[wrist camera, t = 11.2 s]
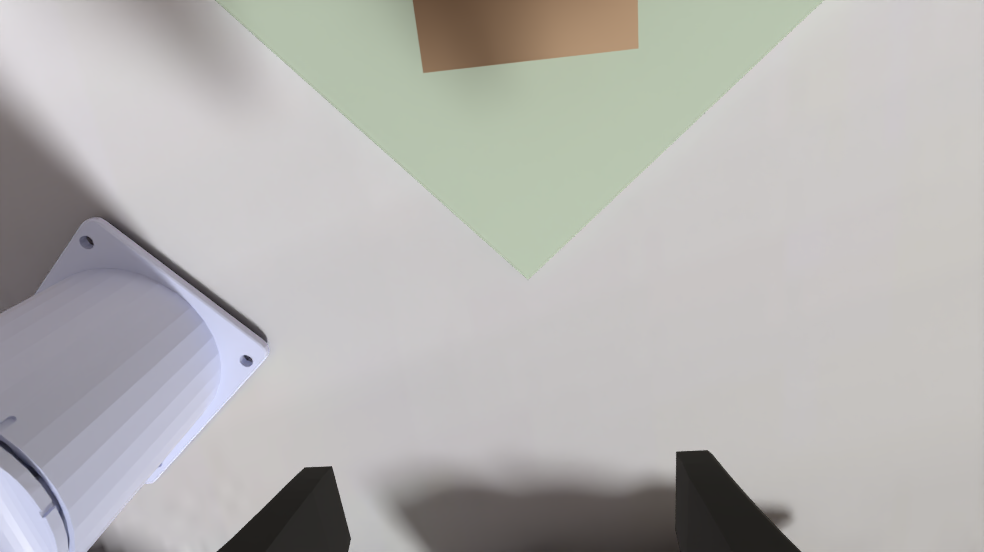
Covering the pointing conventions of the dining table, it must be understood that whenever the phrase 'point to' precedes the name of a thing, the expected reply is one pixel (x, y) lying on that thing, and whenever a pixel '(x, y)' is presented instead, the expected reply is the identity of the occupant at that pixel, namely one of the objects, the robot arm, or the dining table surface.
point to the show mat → (522, 105)
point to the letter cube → (520, 30)
